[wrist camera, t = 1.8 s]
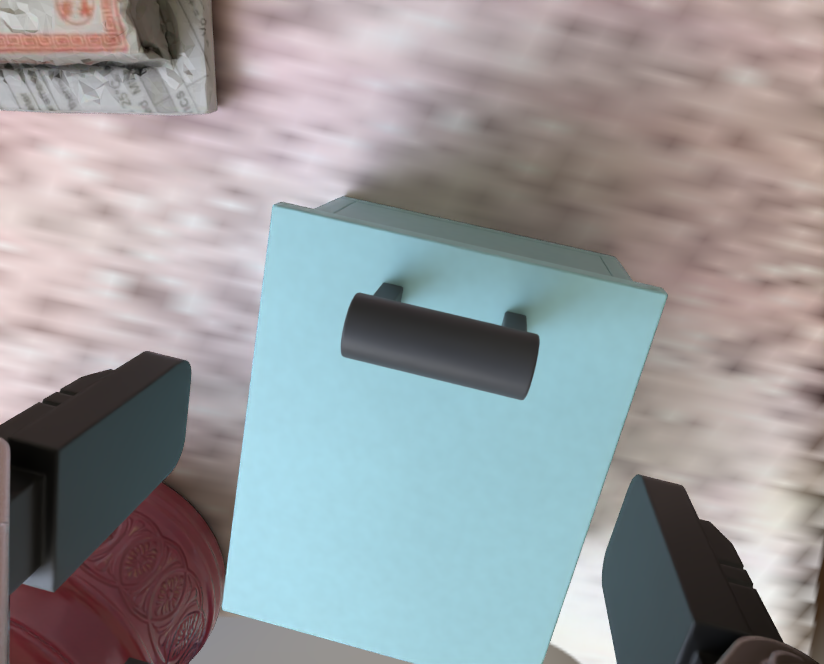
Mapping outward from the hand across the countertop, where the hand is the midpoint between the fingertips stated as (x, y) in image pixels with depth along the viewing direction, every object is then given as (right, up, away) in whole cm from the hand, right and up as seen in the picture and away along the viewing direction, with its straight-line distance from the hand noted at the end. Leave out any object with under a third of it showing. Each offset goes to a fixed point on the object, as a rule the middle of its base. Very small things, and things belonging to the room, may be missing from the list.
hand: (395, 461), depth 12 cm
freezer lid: (+1, -2, +12) cm, 13 cm away
